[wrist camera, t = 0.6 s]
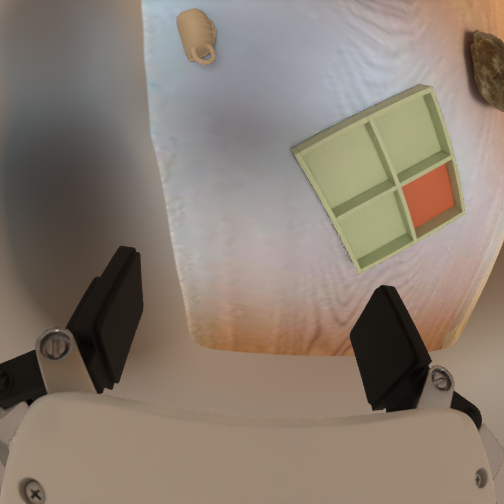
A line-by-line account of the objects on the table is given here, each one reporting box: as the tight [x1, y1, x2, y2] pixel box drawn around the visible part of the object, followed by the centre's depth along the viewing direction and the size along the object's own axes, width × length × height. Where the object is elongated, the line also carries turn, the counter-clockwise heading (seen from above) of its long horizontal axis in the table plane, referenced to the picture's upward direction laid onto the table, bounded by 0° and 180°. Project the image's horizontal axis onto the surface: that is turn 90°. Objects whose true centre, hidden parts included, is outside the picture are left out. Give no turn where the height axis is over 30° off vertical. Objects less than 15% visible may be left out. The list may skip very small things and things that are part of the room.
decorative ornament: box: [177, 9, 216, 65], centre depth 24 cm, size 4×8×5 cm, turn 12°
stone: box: [470, 30, 504, 112], centre depth 22 cm, size 13×8×8 cm
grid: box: [291, 85, 466, 274], centre depth 35 cm, size 21×21×3 cm
